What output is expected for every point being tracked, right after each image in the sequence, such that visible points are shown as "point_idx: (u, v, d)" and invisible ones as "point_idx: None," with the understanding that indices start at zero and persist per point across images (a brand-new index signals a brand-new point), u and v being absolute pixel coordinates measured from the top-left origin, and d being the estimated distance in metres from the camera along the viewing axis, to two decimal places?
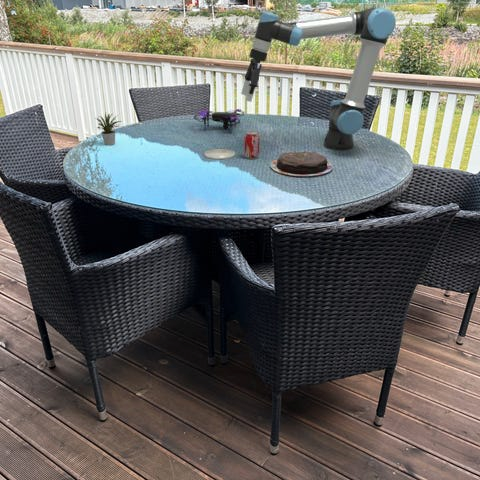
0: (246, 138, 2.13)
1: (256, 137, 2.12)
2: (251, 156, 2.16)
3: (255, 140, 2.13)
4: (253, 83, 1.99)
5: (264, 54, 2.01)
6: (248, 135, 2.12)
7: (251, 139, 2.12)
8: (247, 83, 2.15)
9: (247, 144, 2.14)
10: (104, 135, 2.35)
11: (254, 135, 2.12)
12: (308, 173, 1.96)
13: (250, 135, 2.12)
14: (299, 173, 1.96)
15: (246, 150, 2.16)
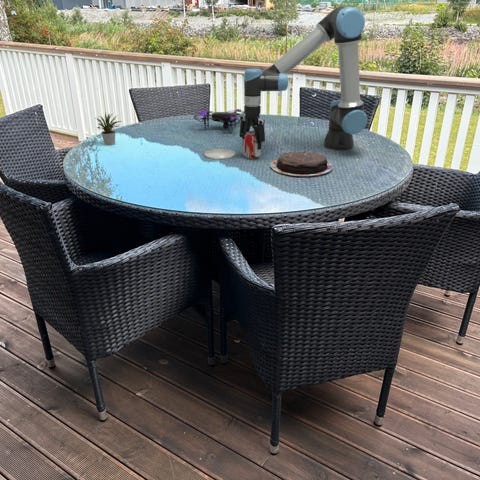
0: (246, 138, 2.13)
1: None
2: (251, 156, 2.16)
3: (255, 140, 2.13)
4: (262, 140, 2.10)
5: (260, 107, 2.08)
6: (248, 135, 2.12)
7: (251, 139, 2.12)
8: None
9: (247, 144, 2.14)
10: (104, 135, 2.35)
11: (254, 135, 2.12)
12: (308, 173, 1.96)
13: (250, 135, 2.12)
14: (299, 173, 1.96)
15: (246, 150, 2.16)
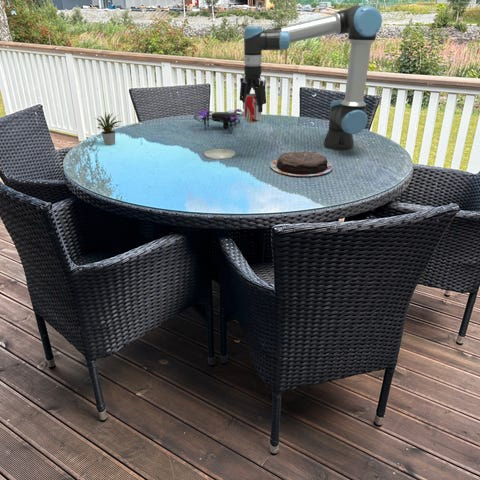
0: (246, 100, 2.05)
1: None
2: (252, 119, 2.08)
3: (256, 102, 2.05)
4: (263, 101, 2.02)
5: None
6: (248, 97, 2.04)
7: (252, 102, 2.04)
8: None
9: (248, 107, 2.06)
10: (104, 135, 2.35)
11: (255, 97, 2.04)
12: (308, 173, 1.96)
13: (251, 97, 2.04)
14: (299, 173, 1.96)
15: (247, 113, 2.08)
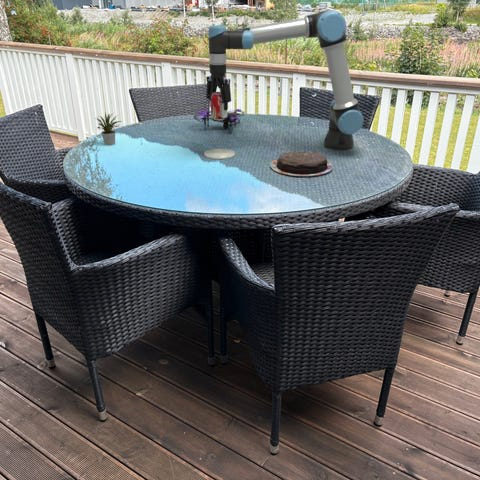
0: (212, 98, 2.09)
1: None
2: (218, 117, 2.12)
3: (221, 100, 2.08)
4: (228, 99, 2.06)
5: (225, 66, 2.04)
6: (214, 95, 2.08)
7: (217, 99, 2.08)
8: None
9: (213, 104, 2.10)
10: (104, 135, 2.35)
11: (220, 95, 2.08)
12: (308, 173, 1.96)
13: (216, 95, 2.08)
14: (299, 173, 1.96)
15: (212, 111, 2.11)
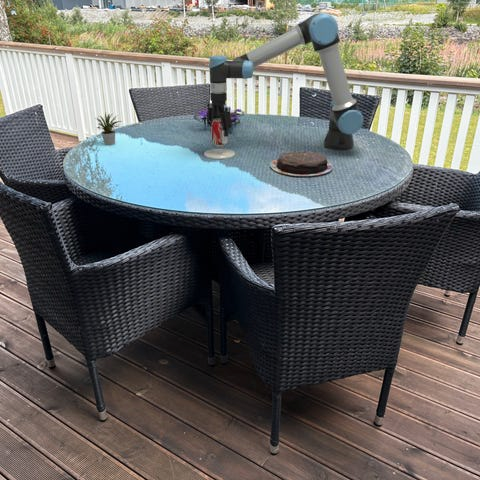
0: (213, 125, 2.15)
1: None
2: (218, 143, 2.17)
3: (222, 127, 2.14)
4: (228, 127, 2.12)
5: (226, 94, 2.09)
6: (215, 122, 2.14)
7: (218, 126, 2.14)
8: None
9: (214, 131, 2.15)
10: (104, 135, 2.35)
11: (220, 122, 2.13)
12: (308, 173, 1.96)
13: (216, 122, 2.13)
14: (299, 173, 1.96)
15: (213, 137, 2.17)
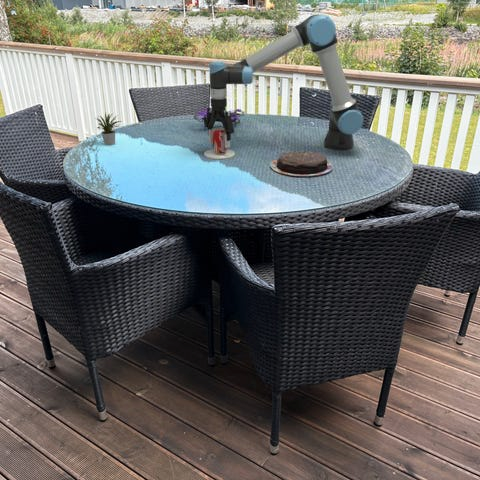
0: (214, 134, 2.17)
1: (223, 133, 2.16)
2: (219, 151, 2.19)
3: (222, 136, 2.16)
4: (231, 131, 2.11)
5: (226, 100, 2.11)
6: (216, 131, 2.16)
7: (219, 135, 2.15)
8: (212, 131, 2.22)
9: (215, 140, 2.17)
10: (104, 135, 2.35)
11: (221, 131, 2.15)
12: (308, 173, 1.96)
13: (217, 131, 2.15)
14: (299, 173, 1.96)
15: (214, 145, 2.19)
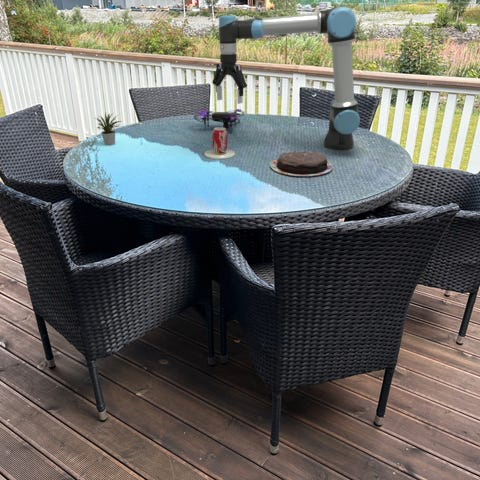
0: (214, 134, 2.16)
1: (223, 133, 2.16)
2: (219, 152, 2.19)
3: (222, 136, 2.16)
4: (243, 85, 2.07)
5: (236, 55, 2.07)
6: (215, 131, 2.16)
7: (219, 135, 2.15)
8: (219, 88, 2.19)
9: (215, 140, 2.17)
10: (104, 135, 2.35)
11: (221, 131, 2.15)
12: (308, 173, 1.96)
13: (217, 131, 2.15)
14: (299, 173, 1.96)
15: (214, 146, 2.19)
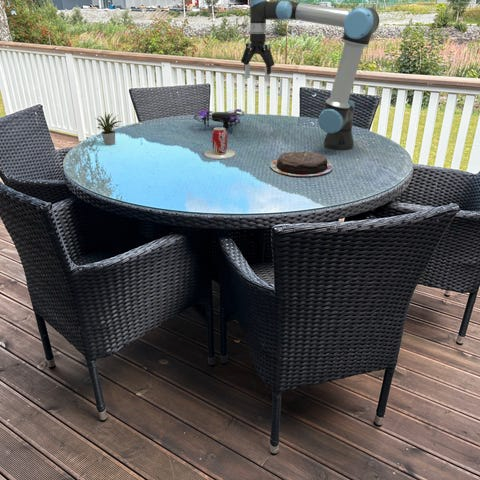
0: (213, 134, 2.17)
1: (223, 133, 2.16)
2: (219, 152, 2.19)
3: (222, 136, 2.16)
4: (271, 63, 2.18)
5: (265, 35, 2.19)
6: (215, 131, 2.16)
7: (218, 135, 2.15)
8: (248, 66, 2.30)
9: (214, 140, 2.17)
10: (104, 135, 2.35)
11: (221, 131, 2.15)
12: (308, 173, 1.96)
13: (217, 131, 2.15)
14: (299, 173, 1.96)
15: (214, 146, 2.19)
